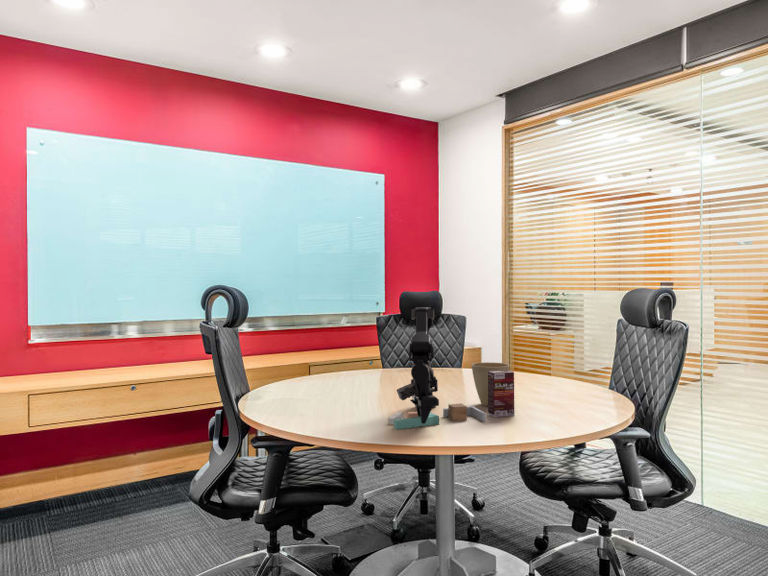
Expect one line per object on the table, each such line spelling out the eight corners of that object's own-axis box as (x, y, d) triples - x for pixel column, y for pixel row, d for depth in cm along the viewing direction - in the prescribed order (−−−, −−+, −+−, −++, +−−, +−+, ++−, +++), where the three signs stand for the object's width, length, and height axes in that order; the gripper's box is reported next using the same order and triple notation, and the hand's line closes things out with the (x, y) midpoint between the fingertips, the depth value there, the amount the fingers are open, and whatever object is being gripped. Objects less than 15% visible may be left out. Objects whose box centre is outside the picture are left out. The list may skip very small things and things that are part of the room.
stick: (388, 425, 187) (387, 418, 187) (397, 418, 196) (397, 412, 196) (394, 425, 186) (393, 418, 186) (403, 419, 195) (403, 412, 195)
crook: (386, 423, 187) (385, 415, 187) (427, 418, 194) (427, 410, 194) (396, 429, 179) (396, 421, 179) (439, 424, 185) (438, 416, 185)
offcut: (407, 419, 194) (407, 412, 194) (419, 418, 195) (419, 411, 195) (408, 420, 192) (408, 413, 192) (420, 419, 193) (420, 412, 193)
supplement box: (494, 417, 193) (493, 373, 193) (487, 414, 198) (486, 371, 198) (515, 415, 196) (514, 371, 196) (508, 412, 200) (507, 370, 200)
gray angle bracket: (442, 416, 197) (442, 407, 197) (472, 413, 200) (471, 405, 200) (453, 423, 185) (453, 415, 185) (485, 421, 188) (485, 412, 188)
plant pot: (510, 409, 206) (510, 367, 206) (471, 408, 209) (470, 367, 209) (509, 401, 221) (508, 362, 221) (472, 400, 224) (472, 361, 224)
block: (448, 418, 194) (448, 404, 194) (461, 417, 195) (461, 403, 195) (453, 421, 189) (453, 407, 189) (466, 420, 191) (466, 406, 191)
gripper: (392, 373, 192) (392, 417, 191) (405, 382, 173) (406, 430, 173) (422, 372, 194) (422, 415, 194) (438, 380, 176) (439, 428, 176)
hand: (422, 422), depth 184 cm, fingers closed on crook, 3 cm apart
